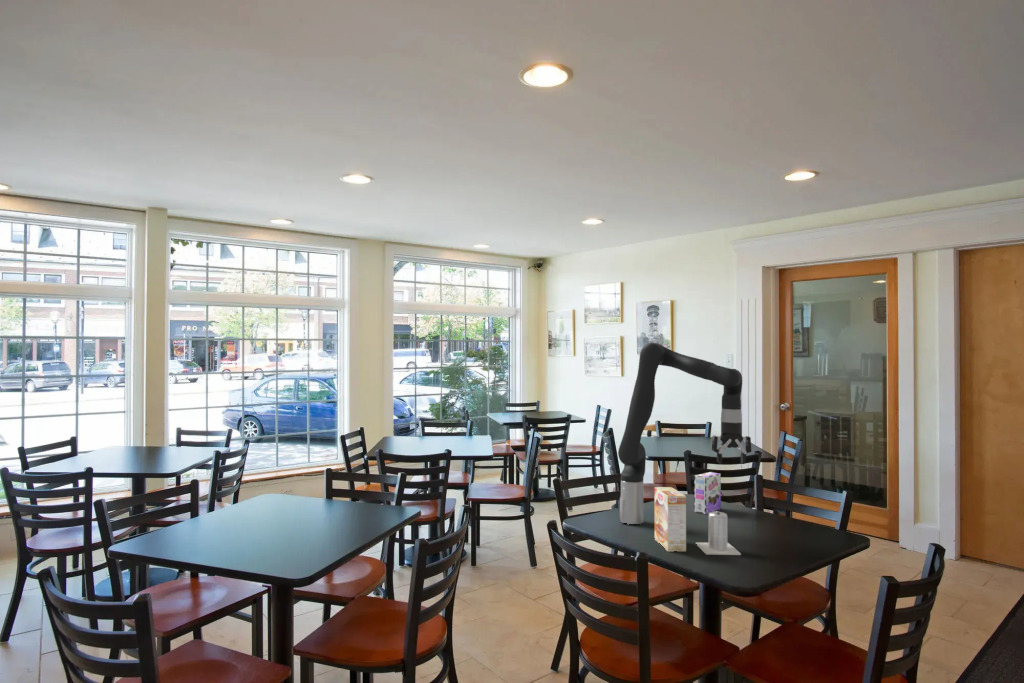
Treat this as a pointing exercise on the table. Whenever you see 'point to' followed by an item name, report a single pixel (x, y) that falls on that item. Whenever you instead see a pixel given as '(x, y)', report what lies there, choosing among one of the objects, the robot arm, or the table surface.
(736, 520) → the table surface
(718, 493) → the candy box
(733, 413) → the robot arm
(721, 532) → the faceted metal canister
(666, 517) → the coffeecake box
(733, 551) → the white mat
